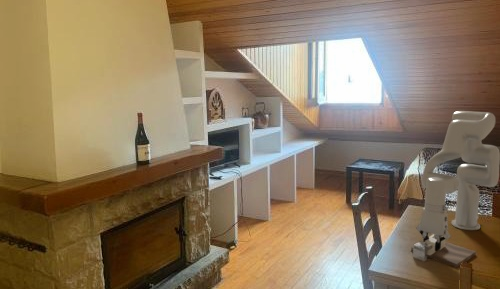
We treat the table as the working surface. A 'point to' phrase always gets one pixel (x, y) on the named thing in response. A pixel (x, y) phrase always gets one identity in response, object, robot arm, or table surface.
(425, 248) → the block
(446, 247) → the board
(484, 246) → the table surface
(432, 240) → the link
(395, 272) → the table surface
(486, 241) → the table surface
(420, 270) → the table surface
